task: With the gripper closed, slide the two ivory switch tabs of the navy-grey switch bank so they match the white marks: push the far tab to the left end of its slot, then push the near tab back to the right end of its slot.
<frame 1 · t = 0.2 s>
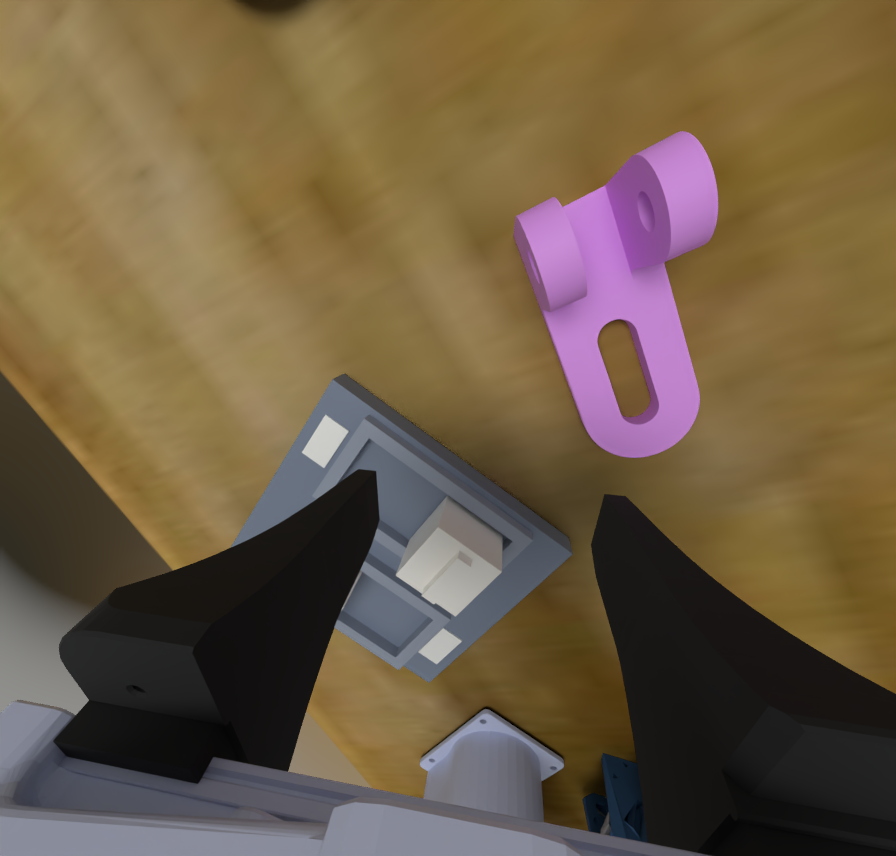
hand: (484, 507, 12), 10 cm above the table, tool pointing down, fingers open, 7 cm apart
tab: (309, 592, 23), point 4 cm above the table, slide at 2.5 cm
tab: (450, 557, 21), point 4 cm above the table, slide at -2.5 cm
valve: (701, 760, 29), on the table
bracket: (609, 335, 20), on the table
switch bank: (394, 536, 26), on the table
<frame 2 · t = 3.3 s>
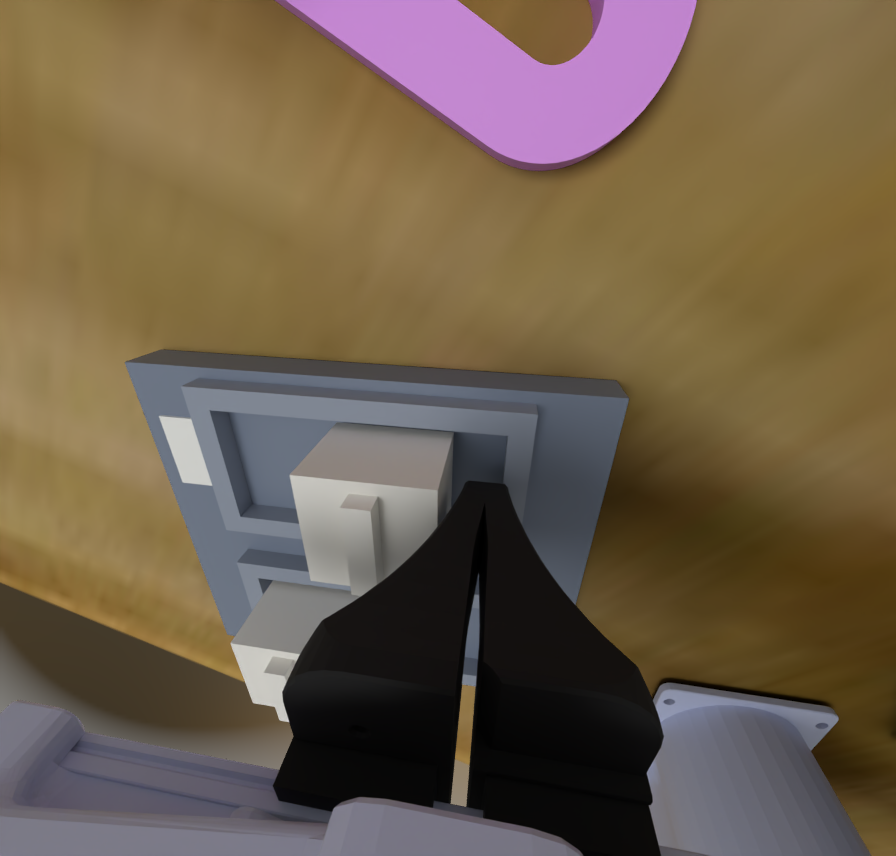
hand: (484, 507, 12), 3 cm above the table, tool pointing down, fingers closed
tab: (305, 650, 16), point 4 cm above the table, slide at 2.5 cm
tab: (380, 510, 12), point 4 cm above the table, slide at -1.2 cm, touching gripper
switch bank: (383, 523, 17), on the table
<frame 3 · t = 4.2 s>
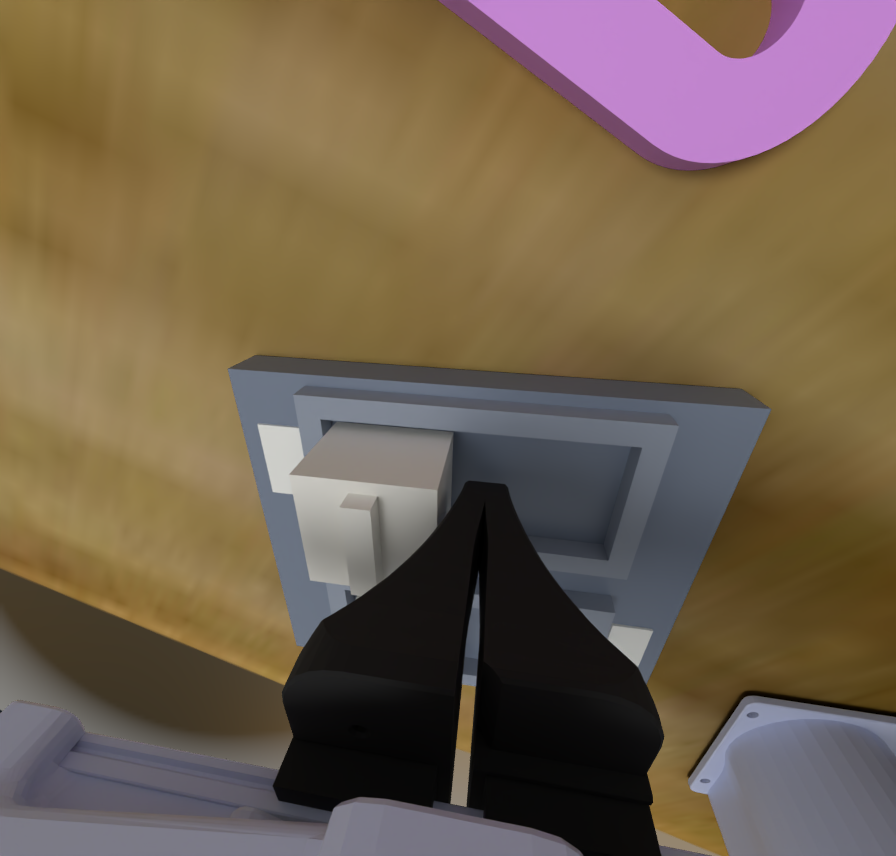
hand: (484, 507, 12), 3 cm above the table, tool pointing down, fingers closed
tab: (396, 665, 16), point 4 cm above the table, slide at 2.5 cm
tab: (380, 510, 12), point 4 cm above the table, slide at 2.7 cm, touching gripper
switch bank: (470, 533, 17), on the table
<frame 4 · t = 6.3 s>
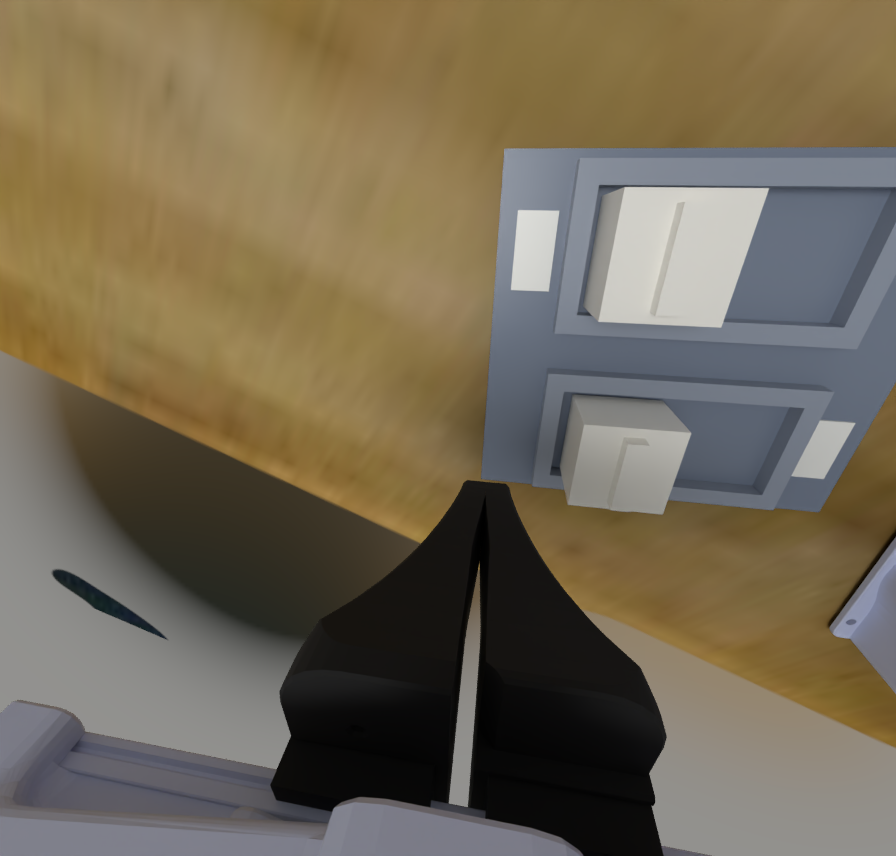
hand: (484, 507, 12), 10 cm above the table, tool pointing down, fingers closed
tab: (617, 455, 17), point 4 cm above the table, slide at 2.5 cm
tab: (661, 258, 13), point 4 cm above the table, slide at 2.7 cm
switch bank: (671, 347, 18), on the table
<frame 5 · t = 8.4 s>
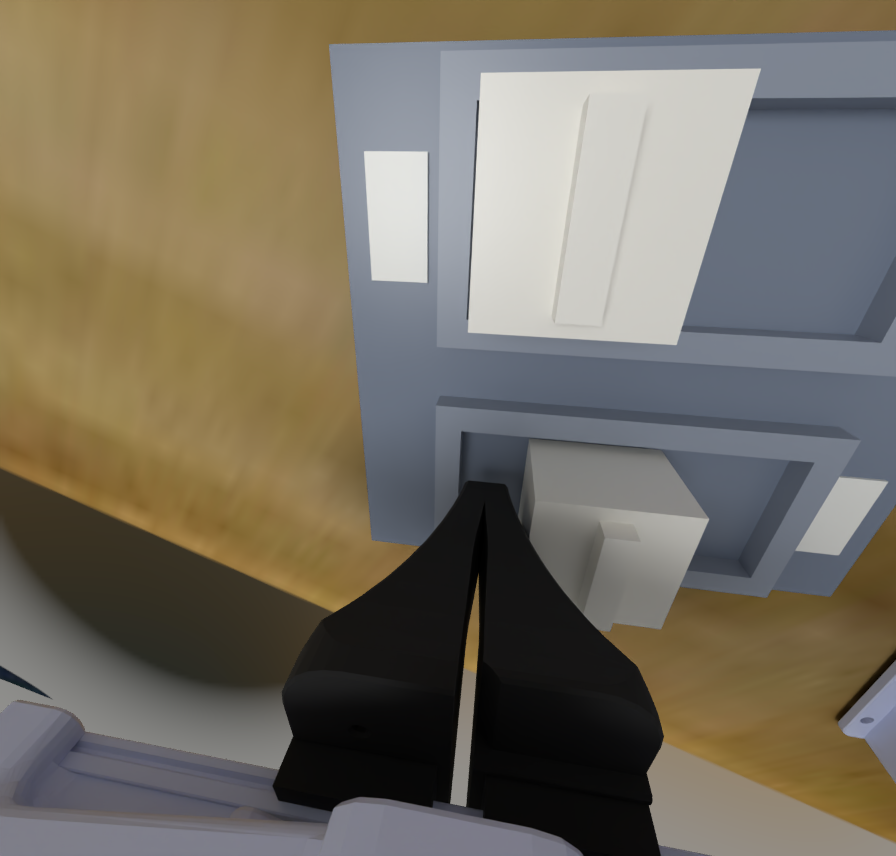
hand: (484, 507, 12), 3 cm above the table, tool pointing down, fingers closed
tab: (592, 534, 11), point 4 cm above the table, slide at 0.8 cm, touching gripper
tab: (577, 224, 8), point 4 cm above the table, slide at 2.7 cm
switch bank: (621, 365, 13), on the table
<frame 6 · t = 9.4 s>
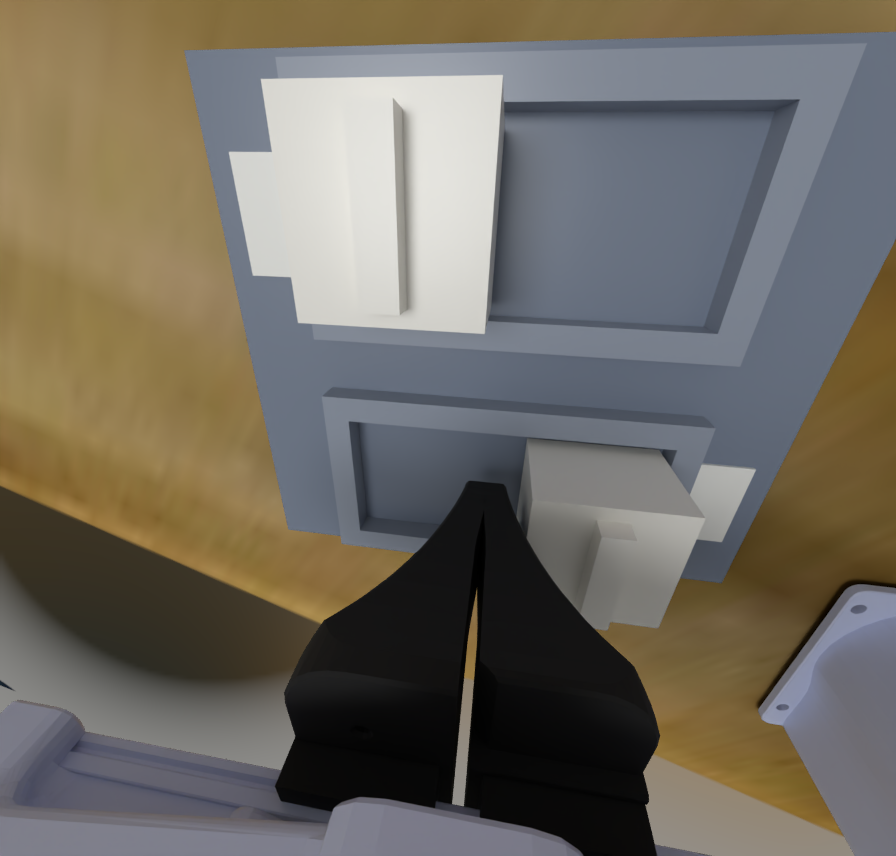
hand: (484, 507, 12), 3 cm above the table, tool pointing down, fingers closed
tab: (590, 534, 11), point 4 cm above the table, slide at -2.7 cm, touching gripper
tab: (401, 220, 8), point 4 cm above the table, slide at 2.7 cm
switch bank: (510, 358, 13), on the table
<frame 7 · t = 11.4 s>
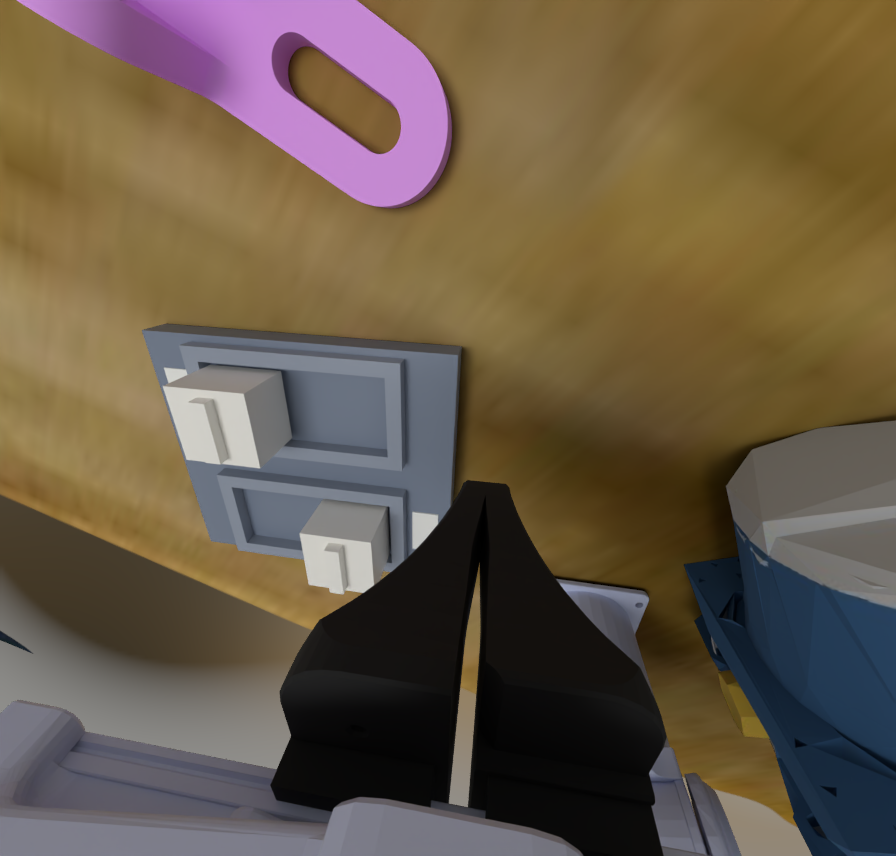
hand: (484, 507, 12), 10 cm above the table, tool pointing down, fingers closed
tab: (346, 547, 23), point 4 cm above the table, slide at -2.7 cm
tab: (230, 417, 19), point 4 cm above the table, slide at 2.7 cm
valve: (807, 517, 22), on the table
bracket: (313, 79, 16), on the table
switch bank: (322, 452, 24), on the table
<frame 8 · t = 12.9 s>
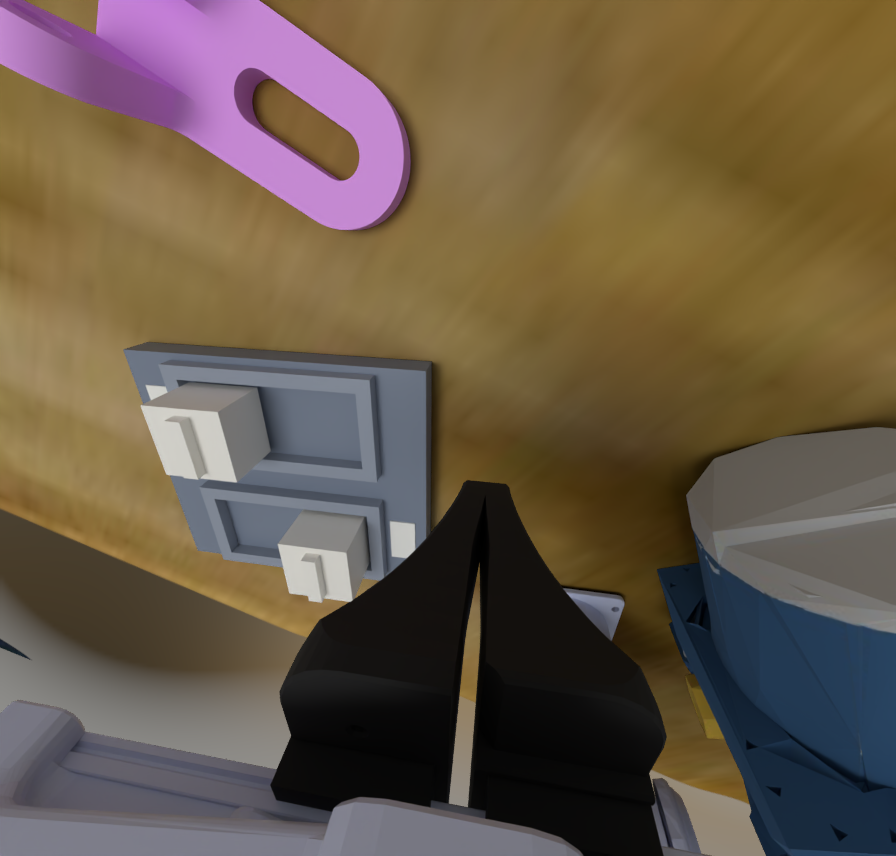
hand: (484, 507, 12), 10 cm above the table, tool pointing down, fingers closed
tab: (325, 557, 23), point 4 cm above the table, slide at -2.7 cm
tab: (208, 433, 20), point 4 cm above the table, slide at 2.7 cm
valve: (774, 522, 23), on the table
bracket: (277, 109, 17), on the table
switch bank: (302, 463, 25), on the table
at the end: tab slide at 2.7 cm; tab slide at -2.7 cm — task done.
